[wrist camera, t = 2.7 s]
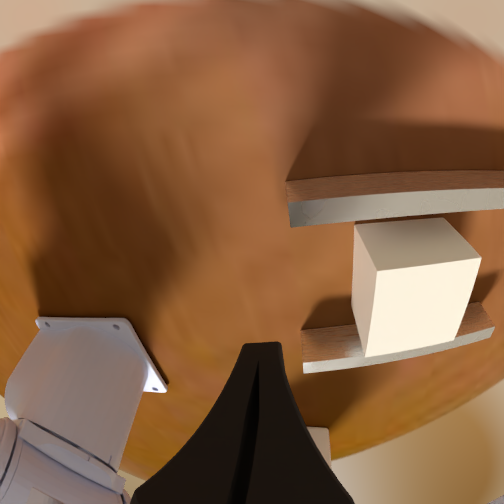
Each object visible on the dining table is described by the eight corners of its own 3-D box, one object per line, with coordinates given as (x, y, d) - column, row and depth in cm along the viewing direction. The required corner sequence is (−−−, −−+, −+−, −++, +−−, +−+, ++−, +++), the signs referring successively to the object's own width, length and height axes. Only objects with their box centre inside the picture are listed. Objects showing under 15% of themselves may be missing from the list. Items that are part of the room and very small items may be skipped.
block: (350, 303, 16) (364, 357, 13) (353, 223, 14) (377, 271, 10) (427, 292, 16) (453, 340, 12) (442, 216, 13) (481, 257, 10)
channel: (301, 341, 18) (303, 373, 16) (285, 181, 13) (287, 202, 11) (474, 312, 16) (490, 337, 14) (508, 170, 11) (536, 187, 9)
